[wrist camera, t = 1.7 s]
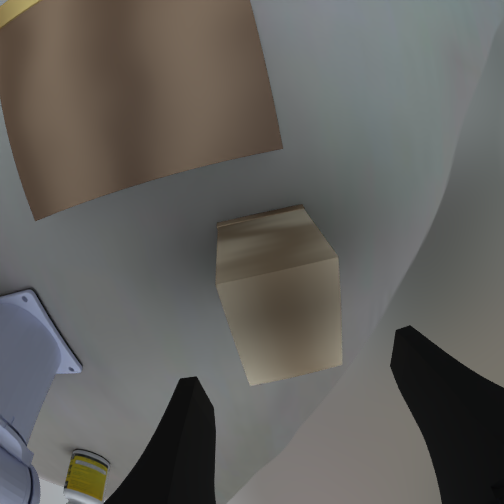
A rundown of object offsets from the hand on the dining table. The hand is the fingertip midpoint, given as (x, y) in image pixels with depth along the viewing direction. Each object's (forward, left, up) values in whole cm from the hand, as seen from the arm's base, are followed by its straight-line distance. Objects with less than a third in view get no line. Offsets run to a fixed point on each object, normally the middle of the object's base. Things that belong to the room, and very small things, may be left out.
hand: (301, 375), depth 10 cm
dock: (-5, +13, -8) cm, 16 cm away
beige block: (0, 0, -8) cm, 8 cm away
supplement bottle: (-28, -24, -9) cm, 38 cm away
